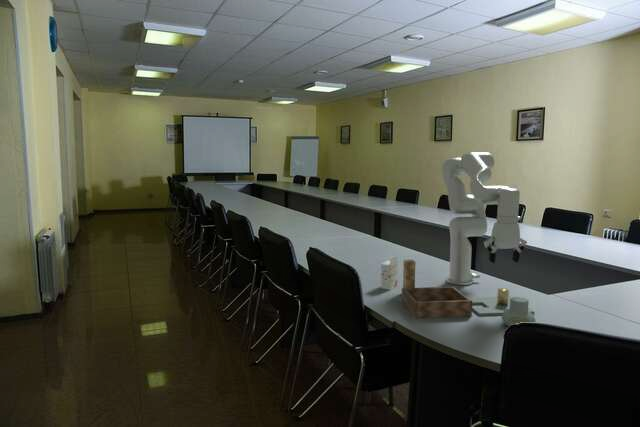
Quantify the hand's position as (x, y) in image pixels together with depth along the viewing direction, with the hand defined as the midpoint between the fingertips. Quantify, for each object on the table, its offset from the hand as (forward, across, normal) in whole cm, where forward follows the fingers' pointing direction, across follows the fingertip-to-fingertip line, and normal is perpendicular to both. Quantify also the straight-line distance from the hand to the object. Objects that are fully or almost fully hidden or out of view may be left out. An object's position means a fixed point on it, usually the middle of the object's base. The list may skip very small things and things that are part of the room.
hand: (503, 261), depth 171 cm
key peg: (+19, +33, -18) cm, 42 cm away
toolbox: (+18, +28, +1) cm, 33 cm away
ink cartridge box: (+20, +39, -29) cm, 52 cm away
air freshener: (+18, +5, +21) cm, 28 cm away
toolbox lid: (+18, +3, +1) cm, 18 cm away
